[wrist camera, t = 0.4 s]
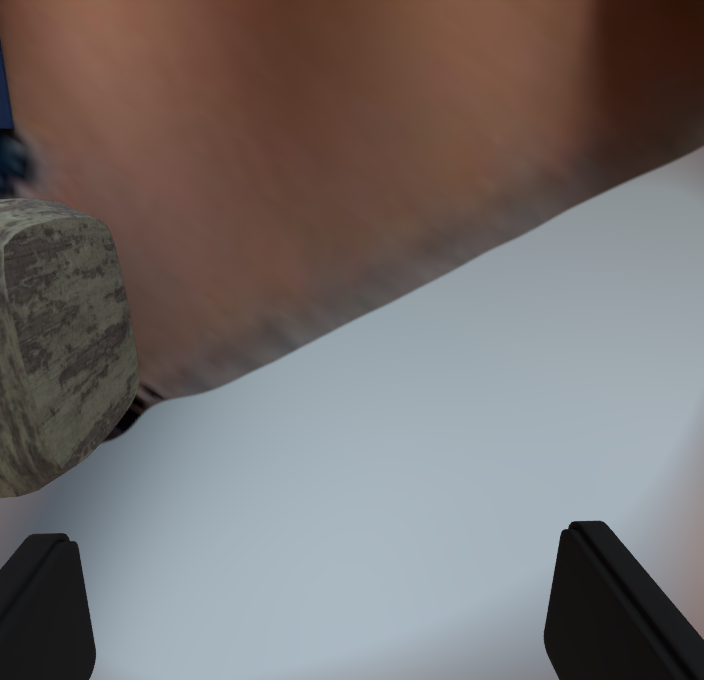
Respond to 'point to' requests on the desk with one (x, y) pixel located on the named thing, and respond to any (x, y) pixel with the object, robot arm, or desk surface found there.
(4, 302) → the tabletop clock
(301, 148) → the desk surface
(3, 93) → the cloth mat
